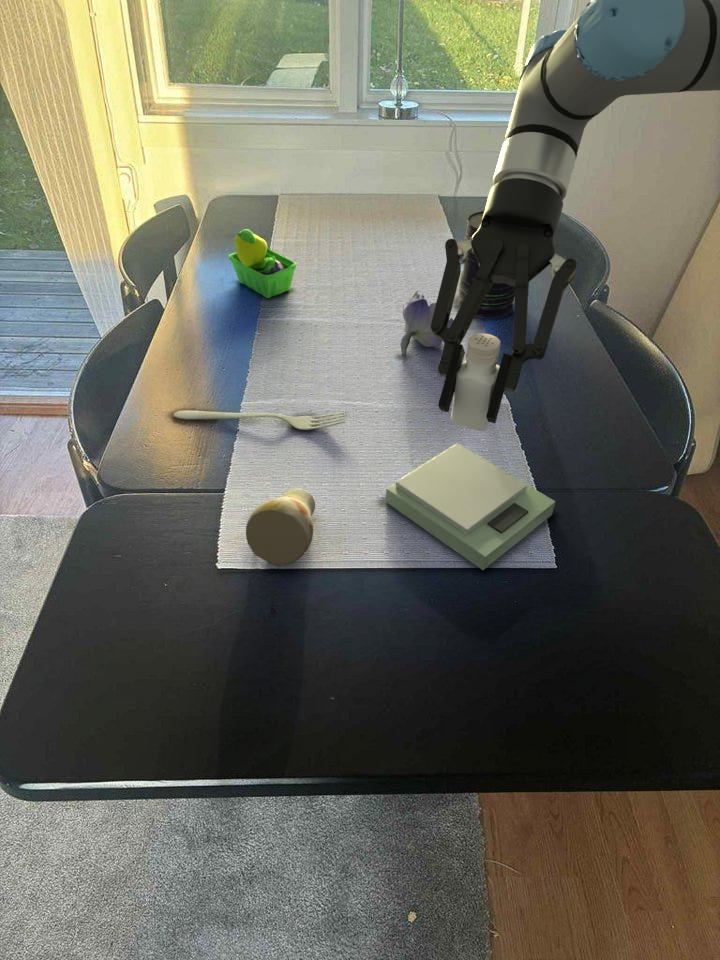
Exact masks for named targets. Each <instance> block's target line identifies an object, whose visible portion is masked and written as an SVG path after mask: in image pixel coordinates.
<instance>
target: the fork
mask: <svg viewBox="0 0 720 960" xmlns="http://www.w3.org/2000/svg"><path fill="white" fill-rule="evenodd" d="M348 412H349V411H341V412H336V413H328V414H322V415H321V414H320V415H318V414H317V415H298V416H290V415H285V414H279V413H270V412H268V413H266V412H263V413H251V412H250V413H249V412H225V411H207V410H192V409H191V410H190V409H185V410H178V411H176V412H174V413H173V417H175V418H176V419H181V420H231V419H233V420H234V419H251V418H277V419H280V420H283V421H284V422H287V423H288V424H289V425H291V426H292V427H293V428H295V429H297V430H303V431H310V430H316V429H317V430H318V429H323V428H327V427H328V428H329V427H333V426H337V425H340V424H344V423H346V420H347V418H346V417H347V416H348V415H347V414H348Z"/></svg>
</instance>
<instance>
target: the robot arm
mask: <svg viewBox="0 0 720 960" xmlns="http://www.w3.org/2000/svg"><path fill="white" fill-rule="evenodd" d="M711 91H712V92H713V91H720V0H590V1H589V2H588V3H587V4H586V5H585V7H584V8H583V9H582V11H581V13H580V15H578V17H577V18H576V19H575V20H574V22H573V23H572V24H571V25H570V26H569V28H567V29H558V30H554V31H553V32H551V33H550V34H549V35H548V34H545V35H542V36H541V37H539V38H538V39H537V40H536V41H535V42H534V43H533V45H532V47H531V48H530V51H529V53H528V57H527V59H526V62H525V64H524V66H523V67H522V70H521V73H520V75H519V80H518V88H517V92H516V96H515V98H514V102H513V107H512V111H511V114H510V119H509V121H508V125H507V129H506V133H505V137H504V140H503V143H502V147H501V149H500V154H499V158H498V161H497V164H496V168H495V172H494V175H493V178H492V185H493V186H492V187H491V188H490V190H489V193H488V196H487V201H486V204H485V208H484V210H483V211H484V215H483V218H482V222H481V225H480V227H479V229H478V231H477V232H476V233H475V234H474V235H473V237H472V239H470V240H466V241H465V240H461V241H457V240H456V239H454V238H448V239H447V240H445V243H444V249H445V255H446V256H445V259H446V263H445V267H444V271H443V275H442V278H441V282H440V286H439V290H438V294H437V299H436V302H435V303H436V306H435V310H434V314H433V318H432V322H431V330H432V332H433V335H434V337H435V338H436V339H439V340H441V341H442V343H443V348H442V351H441V355H440V359H439V362H438V366H437V372H438V374H439V377H442V378H444V381H443V385H442V390H441V392H440V397H439V400H438V403H437V407H438V408H439V409H440V411H441V412H444V413H447V414H448V413H449V412H450V410H451V409H450V408H451V406H452V403H453V398H454V390H455V382H456V374H457V372H458V370H459V369H460V367H461V366H462V364H463V363H464V358H465V356H466V351H465V347H464V345H463V344H462V342H463V340H464V338H465V336H466V334H467V332H468V330H469V328H470V326H471V325H472V323H473V322H474V319H475V318H476V317H475V315H476V313H477V311H478V309H479V308H480V306H481V304H482V302H483V300H484V298H485V296H486V294H487V292H489V291H490V289H491V287H492V285H493V283H506V284H508V285H510V286H514V287H515V297H514V303H513V307H514V308H513V325H512V326H513V327H512V346H511V350H512V351H511V354H510V353H505V352H503V354H502V357H501V361H500V365H499V366H500V368H499V372H498V375H497V379H496V383H495V386H494V390H493V394H492V397H491V401H490V404H489V408H488V412H487V415H486V418H487V420H488V422H490V423H491V424H496V423H497V419H498V414H499V411H500V408H501V404H502V401H503V398H504V394H505V391H506V392H510V393H514V392H515V391H516V389H517V387H518V384H519V381H520V376H521V373H522V369H523V366H524V364H525V362H527V361H529V360H538V361H539V360H542V359H543V358H544V357H545V355H546V353H547V350H548V349H547V348H548V345H549V342H550V339H551V335H552V332H553V329H554V325H555V322H556V319H557V315H558V313H559V309H560V306H561V302H562V299H563V296H564V292H565V290H566V289H567V288H568V286H569V285H570V283H571V282H572V281H573V280H574V278H575V276H576V273H577V264H578V263H577V261H576V259H574V258H571V257H570V258H567V259H566V258H565V257H563V256H561V255H559V254H557V253H556V246H555V242H554V241H555V237H556V233H557V230H558V226H559V223H560V219H561V216H562V212H563V208H564V199H565V198H566V196H567V194H568V190H569V185H570V182H571V179H572V176H573V172H574V168H575V164H576V160H577V157H578V152H579V148H580V145H581V142H582V138H583V134H584V133H585V132H584V131H585V128H586V126H587V125H588V123H589V122H590V121H591V120H593V118H595V117H596V116H598V115H599V114H600V113H602V112H603V111H604V110H605V109H607V107H609V106H610V105H611V104H612V103H614V102H615V101H616V100H618V99H619V98H621V97H624V96H638V95H654V94H656V95H657V94H672V93H673V94H674V93H675V94H676V93H683V92H711ZM472 252H474V255H475V257H476V260H477V262H478V265H479V269H478V271H477V273H476V276H475V280H474V282H473V284H472V286H471V288H470V290H469V291H468V293H467V295H466V297H465V299H464V301H463V303H462V305H461V307H460V308H458V310H457V312H456V315H455V316H454V319H453V322H452V324H451V326H450V328H447V326H448V322H449V319H450V318H451V313H452V309H453V305H454V301H455V297H456V293H457V290H458V285H459V282H460V278H461V273H462V265H464V263H465V262H466V261H467V258H468V255H469V254H470V253H472ZM548 266H550V268H551V269H550V275H549V276H550V279H551V283H550V287H549V289H548V293H547V297H546V300H545V303H544V306H543V309H542V312H541V316H540V319H539V323H538V326H537V329H536V332H535V336H534V339H533V342H532V343H527V331H528V330H527V328H528V307H529V291H530V289H529V288H530V282H531V281H532V280H533V279H534V278H536V277H537V276H538V275H540V273H542V272H543V271H544V270H545V269H546V268H547V267H548Z"/></svg>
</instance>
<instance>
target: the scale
mask: <svg viewBox="0 0 720 960" xmlns="http://www.w3.org/2000/svg"><path fill="white" fill-rule="evenodd" d="M385 492H386V493H385V503H386V504H388V505H389V506H391V507H392V508H394V509H395V510H396V511H397V512H399V513H401V514H402V515H404V516H405V517H406V518H408V519H409V520H411V521H412V522H414V523H415V524H416V525H418V526H419V527H420V528H422V529H423V530H425V531H426V532H428V533H429V534H430V535H432V536H433V537H435V539H437V540H439V541H440V542H441V543H443V544H445V545H446V546H447V547H449V548H450V549H451V550H453V551H454V552H456V553H457V554H458V555H460V556H462V557H463V558H464V559H466V560H468V561H469V562H470V563H472V564H473V566H476V567H477V568H479V569H480V570H482V571H484V570H485V569H487V568H488V567H489V566H490V565H491V564H493V563H494V562H496V560H497V559H499V558H501V557H502V556H503V555H504V554H505V553H507V552H508V551H509V550H510V549H512V548H513V547H514V546H515V545H517V544H518V543H519V542H521V540H523V539H524V538H525V537H526V536H528V535H530V533H531V532H533V531H534V530H535V529H537V528H538V527H539V526H540V525H542V524H543V523H544V522H545V521H546V520H548V519H549V518H550V517H551V516H552V515H553V514H554V508H555V505H556V501H555V500H554V499H552V498H550V497H549V496H547V495H545V494H544V493H542V492H540V491H539V490H537V489H535V488H534V487H532V486H530V485H528V484H527V483H525V482H523V481H522V480H520V479H518V478H517V477H515V476H513V475H512V474H510V473H508V472H507V471H505V470H503V469H502V468H500V467H498V466H496V465H495V464H494V463H491V462H490V461H488V460H486V459H485V458H483V457H481V456H480V455H478V454H476V453H475V452H473V451H471V450H470V449H468V448H466V447H465V446H463V445H461V444H460V443H455V444H453V445H452V446H450V447H448V448H447V449H445V450H444V451H442V452H440V453H439V454H438V455H436V456H434V457H433V458H431V459H429V460H428V461H426V462H425V463H423V464H422V465H420V466H419V467H416V469H414V470H412V471H411V472H409V473H407V474H406V475H404V476H403V477H401V478H399V479H398V480H396V482H395V483H393V484H391V485H390V486H388V487H387V488H386V491H385Z"/></svg>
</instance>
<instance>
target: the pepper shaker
mask: <svg viewBox="0 0 720 960" xmlns="http://www.w3.org/2000/svg"><path fill="white" fill-rule="evenodd" d="M500 348H501V340H500V339H499V338H498V337H497V336H495V335H493V334H490V333H484V332H483V333H474V334H472V335H471V336H469V337H468V340H467V346H466V352H465V358H466V359H465V361H463V362H462V366H461V367H460V369H459V370H458V372H457V374H456V382H455V390H454V395H453V398H452V405H451V406H452V408H451V415H450V420H451V423H453V424H454V425H457V426H461V427H464V428H469V429H472V430H475V431H479V432H484V431H486V430H487V428H488V426H489V425H490V423H491V422H488V420H487V418H486V415H487V412H488V408H489V404H490V401H491V397H492V394H493V390H494V386H495V383H496V379H497V375H498V372H499V368H500V365H499V364H497V363H498V361H499V355H500Z"/></svg>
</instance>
